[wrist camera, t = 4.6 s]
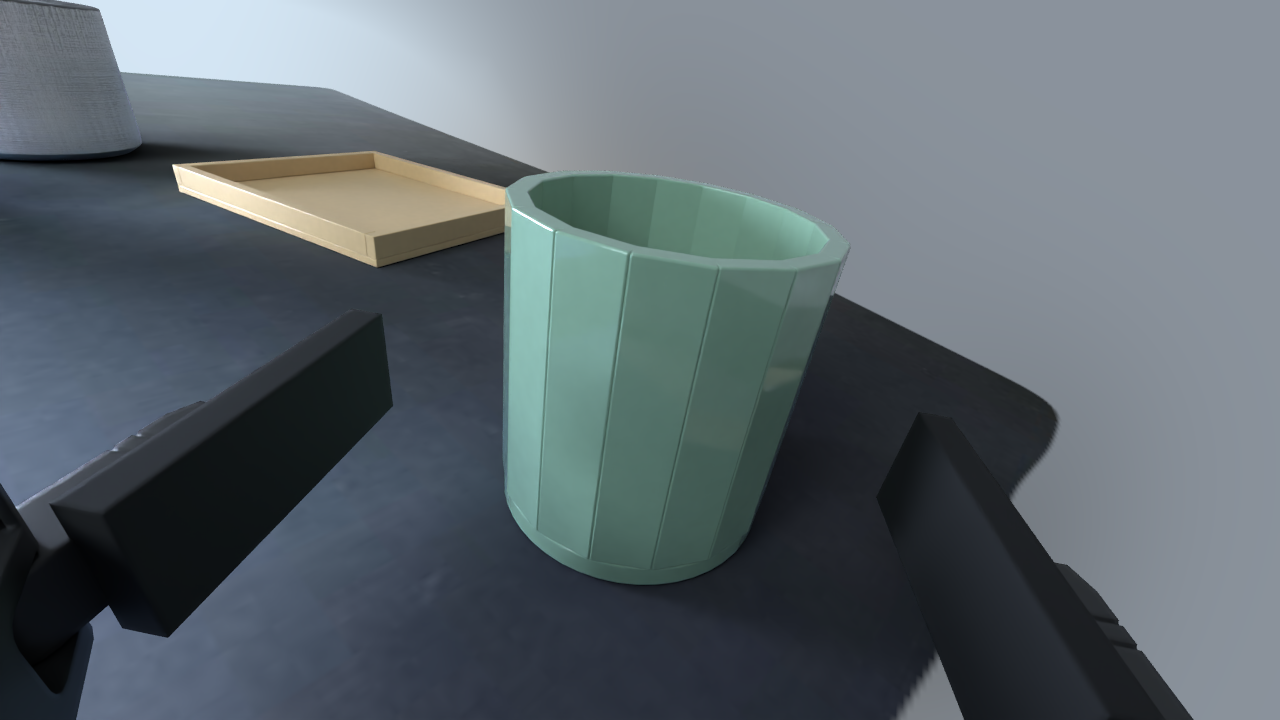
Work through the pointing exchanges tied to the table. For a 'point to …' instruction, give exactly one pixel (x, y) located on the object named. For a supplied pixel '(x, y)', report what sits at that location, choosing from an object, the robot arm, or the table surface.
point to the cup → (652, 364)
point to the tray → (353, 202)
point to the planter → (60, 85)
